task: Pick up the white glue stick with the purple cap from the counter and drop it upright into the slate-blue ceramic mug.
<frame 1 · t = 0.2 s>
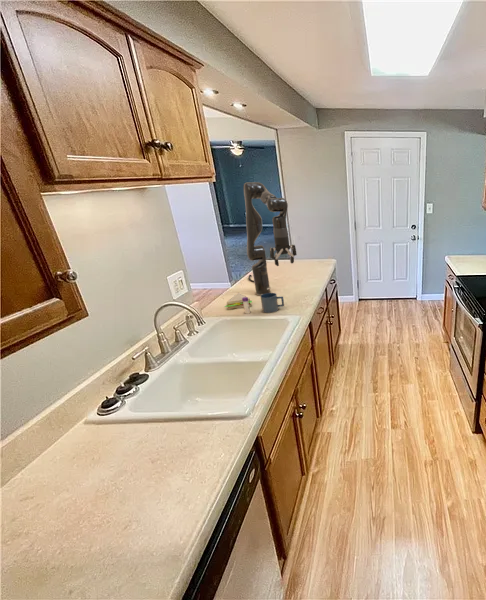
hand: (284, 264, 187), 29 cm above the worktop, tool pointing down, fingers open, 8 cm apart
mug: (270, 310, 199), on the worktop
sandwich: (241, 304, 209), on the worktop
glue stick: (247, 312, 195), on the worktop
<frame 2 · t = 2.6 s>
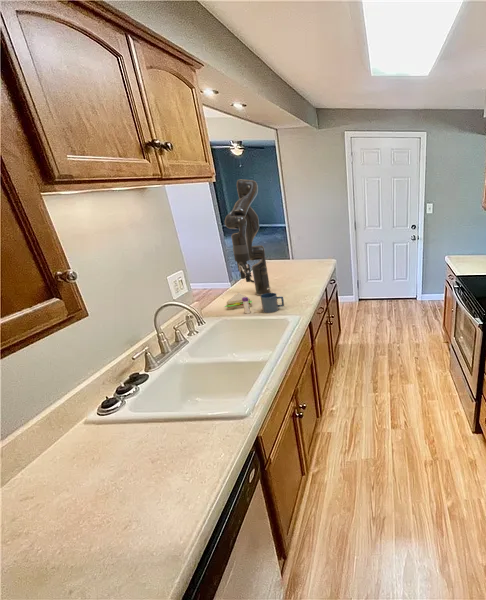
hand: (245, 280, 189), 20 cm above the worktop, tool pointing down, fingers open, 8 cm apart
nothing on the worktop moved.
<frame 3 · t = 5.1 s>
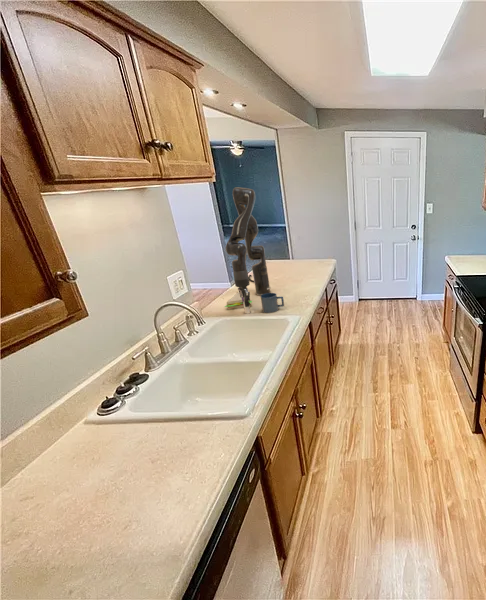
hand: (246, 305, 194), 5 cm above the worktop, tool pointing down, fingers closed on glue stick, 3 cm apart
glue stick: (247, 312, 195), on the worktop, touching gripper
everything else where it was.
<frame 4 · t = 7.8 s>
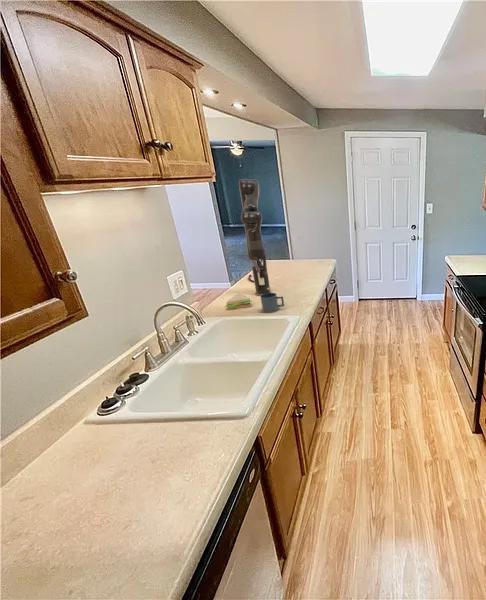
hand: (260, 277, 191), 21 cm above the worktop, tool pointing down, fingers closed on glue stick, 3 cm apart
glue stick: (262, 284, 193), point 17 cm above the worktop, touching gripper
everything else where it was.
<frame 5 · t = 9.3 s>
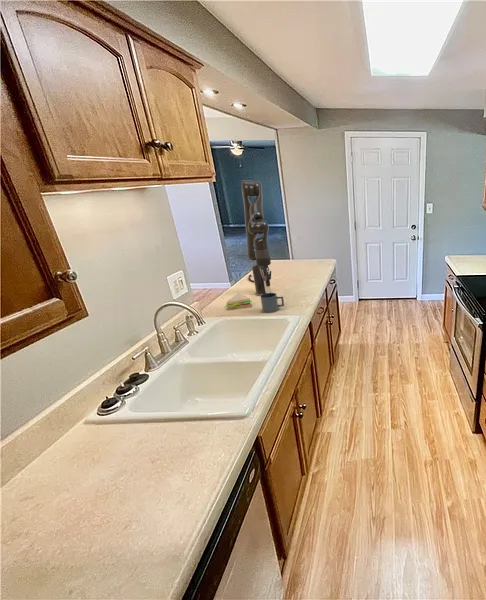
hand: (267, 285, 194), 16 cm above the worktop, tool pointing down, fingers closed on glue stick, 3 cm apart
glue stick: (268, 292, 195), point 11 cm above the worktop, touching gripper
everything else where it was.
when the fingers open (12 cm above the worktop, at t = 10.7 s): glue stick drops 7 cm, resting on mug.
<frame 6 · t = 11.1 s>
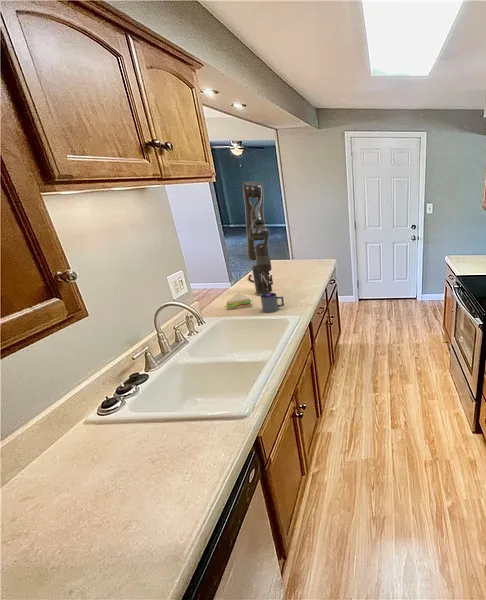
hand: (267, 289, 195), 13 cm above the worktop, tool pointing down, fingers open, 7 cm apart
glue stick: (270, 309, 199), point 1 cm above the worktop, touching mug
everything else where it was.
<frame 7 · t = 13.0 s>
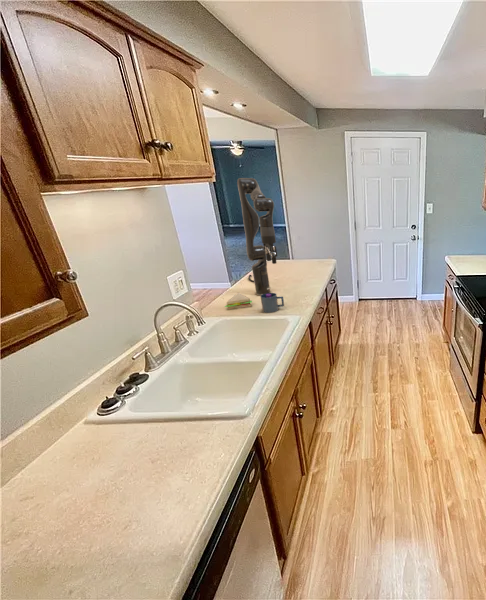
hand: (271, 262, 194), 29 cm above the worktop, tool pointing down, fingers open, 8 cm apart
nothing on the worktop moved.
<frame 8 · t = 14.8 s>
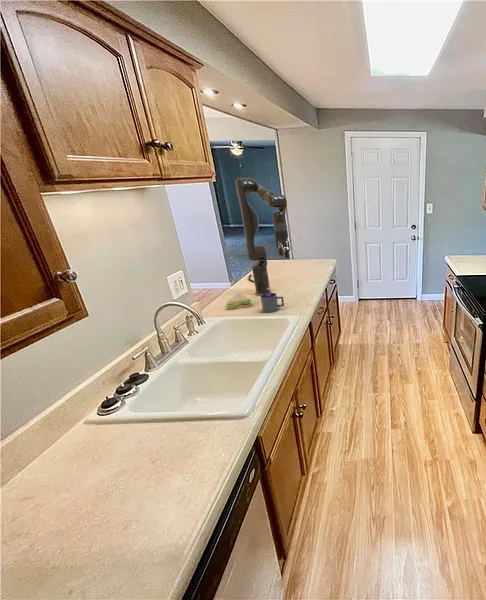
hand: (284, 256, 200), 30 cm above the worktop, tool pointing down, fingers open, 8 cm apart
nothing on the worktop moved.
at the end: glue stick 0.1 cm off-centre in the mug, point 0.6 cm above the mug's base; the gripper is holding nothing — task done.
